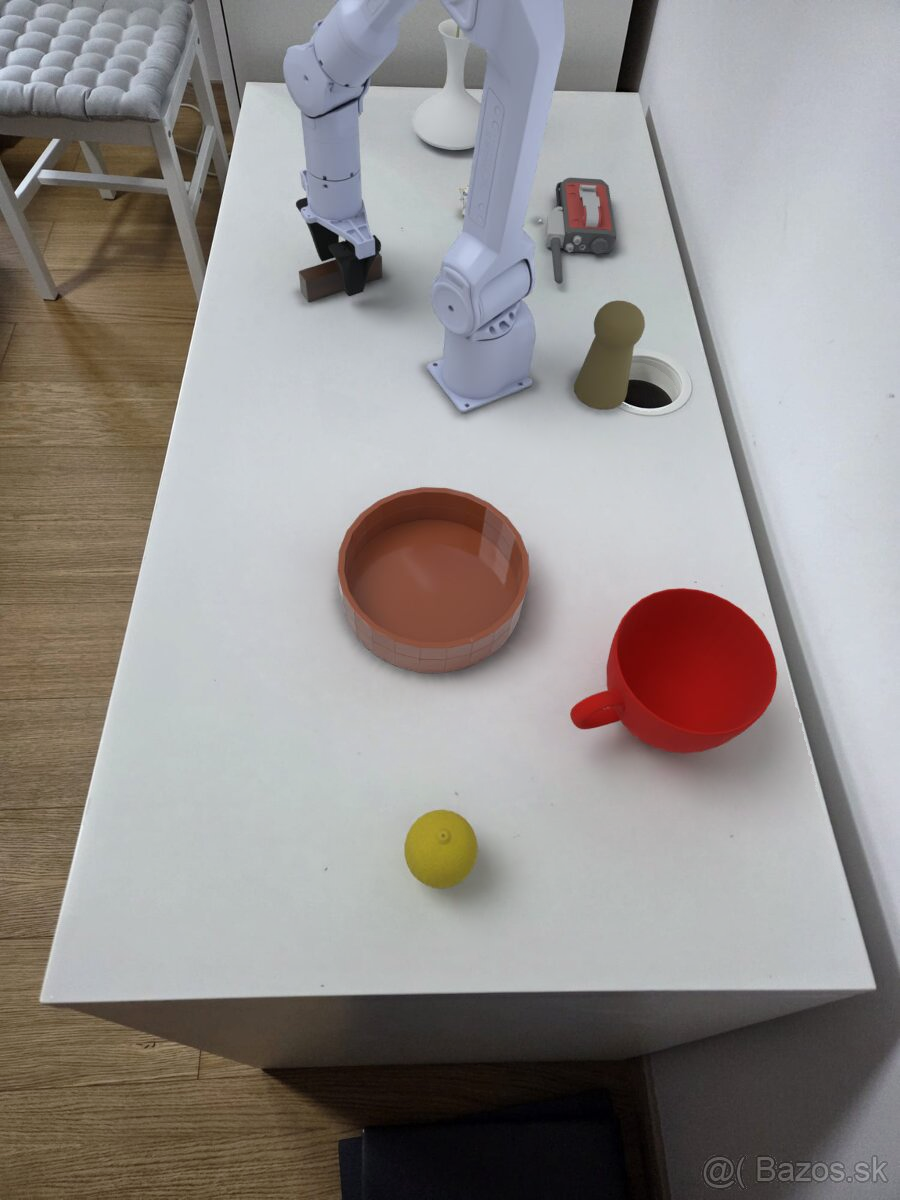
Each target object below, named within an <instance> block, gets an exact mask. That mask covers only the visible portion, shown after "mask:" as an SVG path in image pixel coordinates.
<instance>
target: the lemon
mask: <svg viewBox="0 0 900 1200" xmlns="http://www.w3.org/2000/svg"><path fill="white" fill-rule="evenodd" d="M478 848H479V847H478V839H477V835H476V833H475V831H474V829H473V827H472V825H471V824H470V823H469V821H468V820H467V819H466V818H465V817H463V816H462V815H461V814H459V813H458V812H455V811H453V810H447V809H435V810H431V811H429V812H426V813H424V814H423V815H421V816H420V817H418V818H417V819H416V820H415V821H414V823H412V824H411V826H410V828H409V830H408V832H407V833H406V836H405V840H404V849H403V851H404V853H403V854H404V858H405V863H406V866H407V867H408V869H409V872H410V873H411V874H412V876H414V878H415V879H416V880H417V881H419V882H420V883H422V884H423V885H425V886H427V887H431V888H434V889H447V888H452V887H454V886H456V885H458V884H460V883H462V882H463V881H464V880H465V879H466V878H467V877H468V876H469V875H470V874H471V872H472V871H473V869H474V867H475V865H476V861H477V859H478Z"/></svg>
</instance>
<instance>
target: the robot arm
mask: <svg viewBox="0 0 900 1200" xmlns="http://www.w3.org/2000/svg"><path fill="white" fill-rule="evenodd" d="M420 1H421V0H333V2H334V5H333V7H332V9H331V10H330V11H329V12H328V14H327V15H326V17H324V18H323V19H321V20H320V19H319V20H318V21H316V22H315V24H314V25H313V27H312V31H313V34H312V36H311V37H310V40H309V41H308V42H305V43H303V44H296V45H295V44H294V45H292V46H289V47H288V48H287V50H286V54H285V55H284V59H283V64H282V69H283V70H282V71H283V77H284V78H283V79H284V82H285V85H286V88H287V91H288V94H289V96H290V97H291V99H292V101H293V103H294V104H295V105H296V107H297V108H298V109H299V111H300V118H301V129H302V137H303V147H304V148H303V149H304V158H305V166H306V169H302V170H300V171H299V173H300V183H301V187H302V189H303V190H304V191H305V194H306V197H303V198H300V199H298V200H297V201H296V202H295V207H296V208H297V209H298V211H299V212H300V216H301V217H302V219H303V220H304V221H305V224H306V226H307V228H308V230H309V233H310V236H311V238H312V241H313V244H314V248H315V251H316V253H317V256H318V258H319V260H320V261H321V262H322V263H324V262H325V261H326V262H327V261H330V260H331V259H332V260H333V259H334V260H335V259H336V261H337V264H338V266H339V269H340V273H341V278H342V283H343V287H344V290H343V291H344V293H345V295H347V297H349V298H350V297H353V296H356V295H359V294H361V293H363V292H364V291H365V288H366V284H367V283H366V280H367V276H368V272H369V269H370V267H371V264H372V262H373V261H374V259H375V257H376V256H377V254H378V253H379V254H380V252H381V250H382V243H381V240H380V239H379V238H378V237H377V235H375V234H373V235H372V233H371V229H370V225H369V220H368V216H367V211H366V205H365V202H364V199H363V191H362V190H363V189H362V167H361V144H360V121H359V118H360V117H361V115H362V113H363V112H364V97H365V96H366V95H367V93H368V92H369V89H370V86H371V75H372V74H373V73H374V72H375V71H376V70H377V69H378V68H379V67H380V66H381V64H382V63H384V61H385V60H386V59H387V58H388V57H389V56H390V55H391V54H392V52H393V51H395V49H396V47H397V45H398V43H399V38H400V24H399V23H400V21H401V20H402V19H403V18H404V17H405V16H406V15H407V14H408V13H409V12H410V11H411V10H412V9H413V8H414V7H415V6H416V5H417V4H418V3H419V2H420ZM438 1H439V3H440V5H442V7H443V8H444V10H445V11H446V12H447V14H448V15H449V16H450V18H451V19H453V20H454V21H455V23H456V24H457V25H458V26H459V28H460V29H461V30H462V32H463V33H464V34H465V36H466V37H467V38H468V40H469V41H470V44H471V45H472V46H474V47H478V48H480V49H483V50H484V51H485V53H486V56H487V60H486V67H485V73H484V80H483V87H482V94H481V101H480V103H481V107H480V114H479V120H478V127H477V134H476V141H475V147H473V156H472V161H471V167H470V168H471V170H470V176H469V183H468V185H469V189H468V195H467V202H466V209H465V215H463V223H462V230H461V232H460V233H459V235H458V236H457V238H456V240H454V242H453V243H452V245H451V247H450V248H449V249H448V250H447V252H446V253H445V255H444V257H443V258H442V261H441V264H440V265H441V266H440V270H439V274H438V275H437V277H436V278H434V279H433V281H432V282H431V286H430V299H431V300H430V301H431V305H432V310H433V312H434V314H435V316H436V318H437V319H438V321H439V322H440V324H441V325H442V326H443V327H444V334H443V335H444V337H443V349H442V350H443V351H442V352H443V353H442V358H440V359H438V360H435V361H432V362H430V363H428V364H427V365H426V369H427V371H428V372H429V374H430V375H431V376H432V377H433V379H434V380H435V382H436V383H437V384H438V386H439V387H440V388H441V389H442V391H443V392H444V393H445V394H446V396H447V398H449V400H450V401H451V402H452V404H453V405H454V406H455V407H456V409H457V410H458V411H459V412H460V413H467V412H470V411H472V410H475V409H477V408H480V407H482V406H485V405H487V404H489V403H492V402H494V401H498V400H499V399H502V398H505V397H506V396H510V395H512V394H515V393H516V392H520V391H522V390H525V389H527V388H529V387H532V385H533V380H532V378H530V371H531V366H532V360H533V355H534V348H535V344H536V339H537V338H536V337H537V331H536V329H537V328H536V324H535V319H534V316H533V314H532V311H531V310H530V308H529V306H528V304H527V303H526V302H525V301H524V300H523V299H525V298H526V297H528V296H530V294H531V293H532V292H533V290H534V288H535V286H536V281H537V280H536V279H537V278H536V269H535V261H534V258H535V257H534V256H535V251H536V247H537V244H536V242H535V241H534V240H533V239H532V237H531V236H530V235H529V234H528V233H527V232H526V230H524V226H525V222H526V217H527V212H528V209H529V203H530V200H531V195H532V190H533V186H534V181H535V177H536V174H537V173H536V172H537V168H538V163H539V159H540V155H541V150H542V145H543V140H544V136H545V132H546V128H547V124H548V123H547V122H548V120H549V114H550V110H551V106H552V101H553V97H554V91H555V88H556V83H557V78H558V74H559V70H560V65H561V60H562V55H563V52H564V47H565V40H566V39H565V38H566V24H565V23H566V21H565V7H564V0H438ZM340 238H343V239H344V240H342V241H340Z"/></svg>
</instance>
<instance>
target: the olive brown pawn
mask: <svg viewBox="0 0 900 1200" xmlns="http://www.w3.org/2000/svg"><path fill="white" fill-rule="evenodd" d="M645 328H646V322H645V316H644V314H643V312H642V310H641V309H640V308H639V306H637V305H636V304H634V303H632V302H629V301H625V300H611V301H609V302H607V303H605V304H603V306H601V307H600V308H599V309H598V311H597V313H596V315H595V317H594V319H593V332H594V335H595V336H594V337H593V341H592V343H591V345H590V347H589V349H588V352H587V354H586V356H585V358H584V361H583V363H582V366H581V368H580V370H579V372H578V375H577V377H576V379H575V382H574V384H573V392H574V394H575V396H576V398H577V399H578V400H579V401H580V402H581V403H582V404H584V405H586V406H587V407H590V408H592V409H595V410H601V411H602V410H603V411H605V410H612V409H616V408H617V407H619V406H621V405H622V404H623V403H624V402H625V401H626V397H627V394H628V389H629V388H628V387H629V383H630V382H629V381H630V375H631V368H632V361H633V354H634V349H635V345H636V344H637V343H639V341H640V339H641V338H642V336H643V334H644V331H645Z"/></svg>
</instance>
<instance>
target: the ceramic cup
mask: <svg viewBox="0 0 900 1200" xmlns="http://www.w3.org/2000/svg"><path fill="white" fill-rule="evenodd" d="M614 632H615V633H614V635H613V637H612V640H611V644H610V648H609V652H608V657H607V663H606V688H607V690H604V691H600V692H596V693H594V694H591V695H589V696H587V697H585V698H583V699H582V700H580V701H579V702H576V704H575V705H574V706H572V708H571V709H570V713H569V716H570V720H571V722H572V723H573V725H574V726H575V727H576V728H577V729H579V730H591V729H596V728H600V727H604V726H607V725H610V724H614V723H617V722H621V723H622V724H623V726H624V727H625V728H626V729H627V730H628V731H629V732H630V733H631V734H632V735H633V736H634V737H636V738H637V739H638V740H640V741H641V742H643V743H644V744H646V745H648V746H651V747H653V748H655V749H658V750H660V751H665V752H668V753H676V754H694V753H701V752H706V751H708V750H712V749H715V748H718V747H720V746H722V745H724V744H726V743H728V742H729V741H731V740H733V739H735V738H736V737H738V736H739V735H741V734H742V733H744V732H745V731H747V730H748V729H749V728H750V727H751V726H753V724H754V723H755V722H757V721H758V720H759V719H760V718H761V717H762V716H763V715H764V713H765V712H766V710H767V709H768V707H769V706H770V704H771V703H772V701H773V698H774V694H775V691H776V689H777V679H778V670H777V662H776V657H775V654H774V651H773V648H772V646H771V645H772V644H770V642H769V640H768V638H767V636H766V634H765V633H764V630H762V628H761V627H760V626H759V625H758V623H756V621H755V620H754V619H753V618H752V617H751V616H750V615H748V614H747V612H745V611H744V610H743V609H742V608H740V607H739V606H737V605H736V604H734V603H733V602H731V601H729V600H728V599H726V598H723V597H721V596H719V595H717V594H715V593H713V592H708V591H704V590H700V589H696V588H695V589H694V588H685V587H680V588H679V587H678V588H667V589H663V590H659V591H656V592H652V593H651V594H648V595H646V596H644V597H642V598H641V599H639V600H638V601H637V602H636V603H634V604H633V605H632V606H631V607H630V608H629V609H628V610H627V612H626V613H625V614H624V615H623V617H622V618H621V620H620V622H619V624H618V626H617V628H616V631H614Z"/></svg>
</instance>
